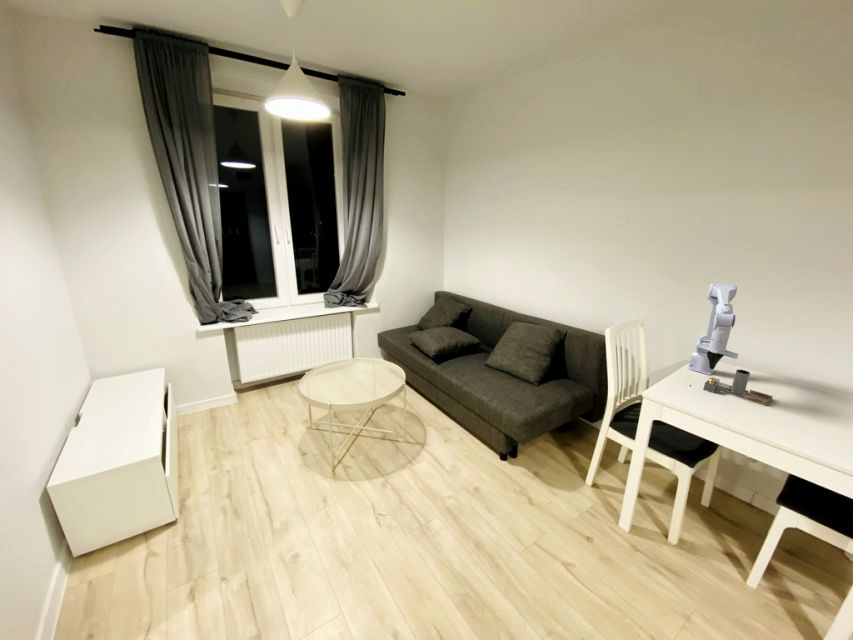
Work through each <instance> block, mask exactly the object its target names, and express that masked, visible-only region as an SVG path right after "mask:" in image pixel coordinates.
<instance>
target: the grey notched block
mask: <svg viewBox="0 0 853 640" xmlns="http://www.w3.org/2000/svg"><path fill="white" fill-rule="evenodd" d="M711 378H713V379H716V380H717V381H716V382H715V383H718V386H717V388H720V389H723V390H726V391H729V390H730V389H731V388H730V385H731V384H727V385H726V383H724V382H721V383H720V381H721V379H719V378H715V377H711ZM723 383H724V384H723Z"/></svg>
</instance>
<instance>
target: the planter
mask: <svg viewBox="0 0 853 640" xmlns="http://www.w3.org/2000/svg"><path fill="white" fill-rule="evenodd" d="M750 375H751V371H747V370H744V369H736V370H735V374H734V378H733V381H732V385H731V386H732V388H730V392H733V393H736V394H739V395H742V396H745V395H744V394H745V393H746V392H745V390H747V386H748V382H749V378H750Z"/></svg>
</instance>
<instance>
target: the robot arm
mask: <svg viewBox="0 0 853 640" xmlns="http://www.w3.org/2000/svg"><path fill="white" fill-rule="evenodd" d="M737 291H738V286H737V285H736V284H726V283H725V284H724V283H713V282H712V283H710V284H709V287H708V290H707V292H708V293H707V296H706V297H707V300H708V301H709V302H710V303H711V306H710V312H709V317H708V321H707V326H706V331H705V333H704V334H703V335H702V334H701V335H700V336H698V337H697V340H696V343H695V350H694V351H692V353H691V356H690V358H689V364H688V367H687V369H688V370H690V371H694V372H698V373H701V374H705V375H708V376H711V375H713V373H714V372H716V370H715V368H716V366H717V364H718V363H719V361H721V359H722V358H723V357H724V356H725V357H729V358H732V359H734V360H737V359H738V357H739V353H736V352H734V351H730V350H729V349H727V345H728V343H729V342H728V341H729V339H730V334H731V331H732V329H733V328H734V326H735V323H736V314H735V312H734V310H733V305H732V303H731V302H732V301H733V299H734V298H735V297H736V295H737Z"/></svg>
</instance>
